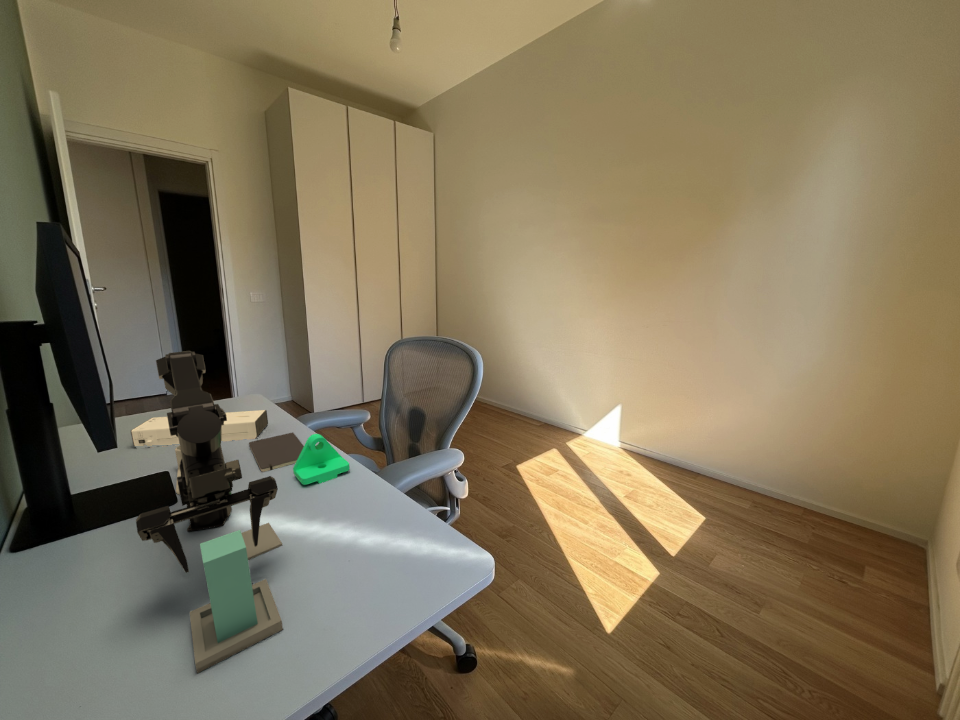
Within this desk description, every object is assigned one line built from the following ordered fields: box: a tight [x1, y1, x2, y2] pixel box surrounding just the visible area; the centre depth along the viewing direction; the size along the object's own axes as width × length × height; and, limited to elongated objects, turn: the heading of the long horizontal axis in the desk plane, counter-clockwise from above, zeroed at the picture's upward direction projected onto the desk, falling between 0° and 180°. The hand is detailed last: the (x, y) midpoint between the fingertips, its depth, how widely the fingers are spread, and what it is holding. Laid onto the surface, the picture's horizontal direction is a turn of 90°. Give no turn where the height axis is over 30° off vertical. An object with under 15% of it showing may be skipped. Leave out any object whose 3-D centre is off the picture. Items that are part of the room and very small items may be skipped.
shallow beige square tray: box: [189, 578, 284, 674], centre depth 59 cm, size 10×10×2 cm
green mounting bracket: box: [292, 433, 350, 485], centre depth 102 cm, size 12×8×10 cm, turn 131°
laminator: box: [130, 409, 269, 447], centre depth 126 cm, size 34×12×6 cm, turn 102°
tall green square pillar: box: [199, 529, 258, 643], centre depth 58 cm, size 5×5×13 cm
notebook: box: [248, 432, 304, 473], centre depth 116 cm, size 13×2×21 cm
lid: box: [241, 522, 283, 561], centre depth 77 cm, size 9×9×1 cm
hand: (223, 558), depth 62 cm, fingers open, 9 cm apart
